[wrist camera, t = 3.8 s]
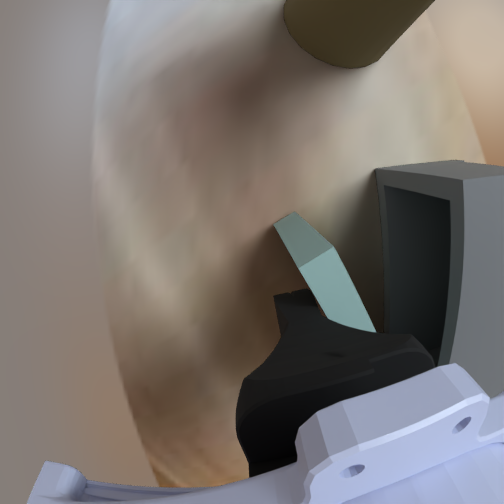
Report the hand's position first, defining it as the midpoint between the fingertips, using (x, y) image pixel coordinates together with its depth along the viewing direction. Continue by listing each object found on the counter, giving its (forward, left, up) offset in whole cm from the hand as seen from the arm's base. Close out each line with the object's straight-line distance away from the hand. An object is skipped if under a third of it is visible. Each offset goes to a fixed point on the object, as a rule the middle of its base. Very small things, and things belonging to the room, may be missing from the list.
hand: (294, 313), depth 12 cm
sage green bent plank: (-3, -3, -4) cm, 5 cm away
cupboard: (-2, -9, -4) cm, 10 cm away
